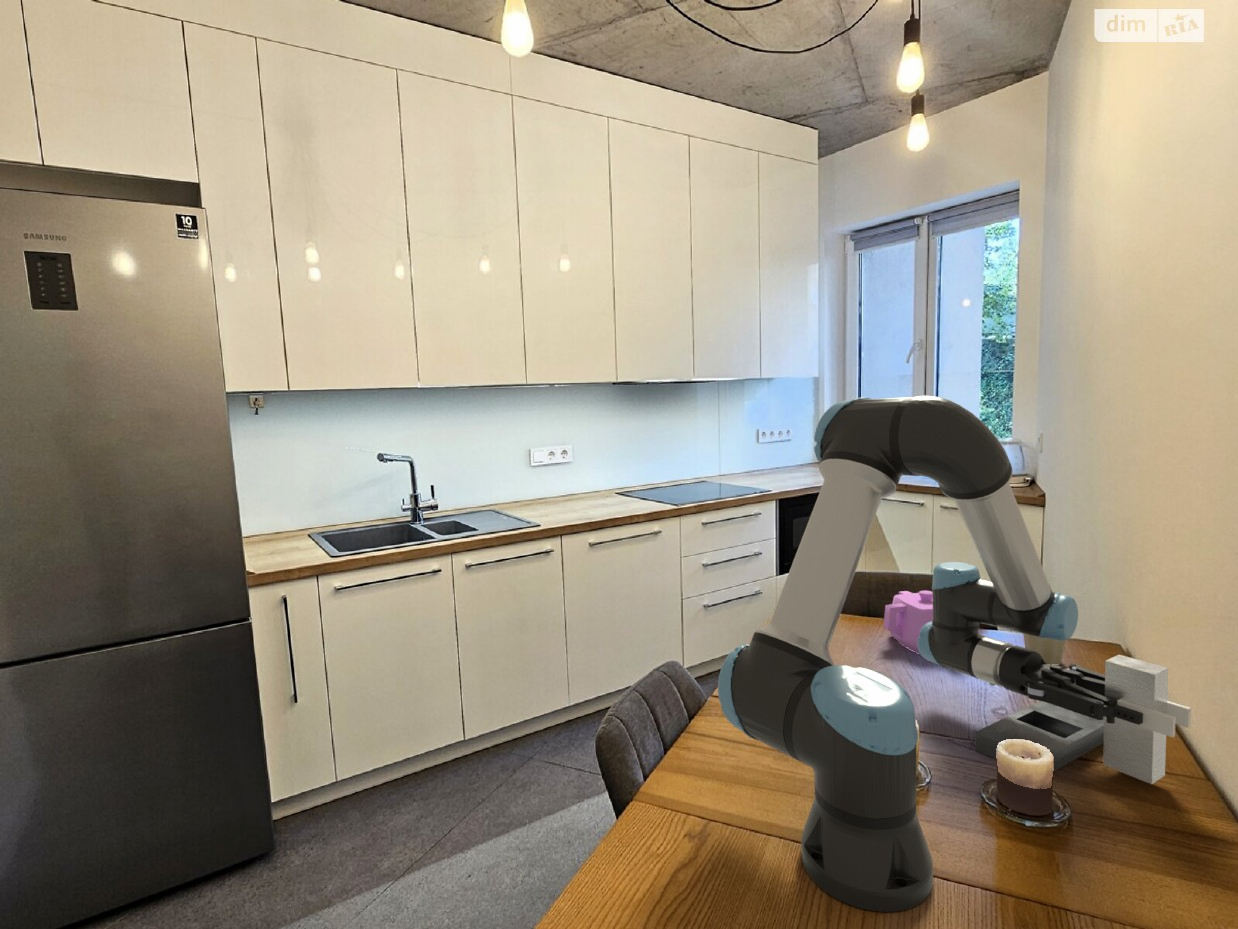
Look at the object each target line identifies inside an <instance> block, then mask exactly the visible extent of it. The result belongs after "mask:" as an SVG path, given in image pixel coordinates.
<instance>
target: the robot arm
mask: <svg viewBox="0 0 1238 929" xmlns="http://www.w3.org/2000/svg"><path fill="white" fill-rule="evenodd" d="M813 438H814V439H813V441H814V442H815V443H816V444H815V446H813V449H814V454H815V457H816V460H817V461H818V463H819V465H818V471H819V472H820V473H819V474H820V475H821V476H822V478H823V483H822V486H821V488H820V491H819V494H818V495H817V499H816V501H815V504H814V506H813V509H812V511H811V513H810V516H809V519H808V522H807V524H806V527H805V530H804V532H803V535H802V537H801V541H800V543H799V545H798V548H797V551H796V553H795V555H794V558H793V560H792V564H791V567H790V568H789V570H788V571H789V572H788V574H787V577H786V579H785V582H784V584H783V587H782V589H781V593H780V595H779V598H778V600H777V603H776V605H775V608H774V611H773V614H772V616H771V618H770V620H769V623H768V624H767V625H765V626H762V627H760V628H758V629H755V630H754V633H753V634H752V638H751V641H750V642H749V644H742V645H739V646H737V647H735V648H734V651H731V652H729V654H728V655H727V656H726V657H725V659H724V661H723V663H722V665H721V668H720V672H719V676H718V681H717V682H718V683H717V696H718V701H719V703H720V708H721V712H722V713H723V715H724V717H725V718H726V720H727V721H728V722H729V723H730V724H731V725H732V726H733V727H735V728H736V729H738V730H739V731H741V732H743V733H744V735H745V736H747V737H748V738H750V739H753V740H755V741H759V742H760V743H763V744H765V745H767V746H768V747H771V748H773V749H775V750H777V751H779V752H781V753H782V754H784V755H786V756H788V757H789V758H792V759H794V760H795V761H798V762H801V763H802V764H804V765H806V766H808V767H809V768H811V769H812V770H813V776H814V799H813V802H812V805H811V806H810V810H809V813H808V816H807V819H806V822H805V824H804V828H803V831H802V834H801V843H800V844H801V862H802V865H803V867H804V870H805V872H806V873H807V875H808V876H809V878H810V879H811V880H812V881H813V882H814V884H816V886H818V887H819V888H820V889H821V890H823V891H824V892H825V893H826V894H827V895H830V896H831V897H833V898H835V899H836V900H839V901H840V902H842V903H844V904H847V905H849V906H852V907H856V908H859V909H863V910H867V911H873V912H885V913H886V912H887V913H888V912H890V913H891V912H901V911H905V910H909V909H911V908H914V907H916V906H918V905H920V904H921V903H923V902H925V901H926V899H927V898H928V897H929V895H930V894H931V893H932V889H933V885H934V865H933V858H932V857H933V856H932V855H931V852H930V849H929V845H928V844H927V839H926V837H925V835H924V831H923V828H922V825H921V823H920V821H919V817H918V815H917V744H918V738H919V734H918V727H917V723H916V712H915V706H914V703H913V701H912V700H911V697H910V694H908V691H906V690H905V689H904V688H903V686H902V685H900V684H899V683H898V682H897V681H895V680H894V679H892V678H890V677H888V676H887V675H885V674H883V673H881V672H879V671H878V672H877V671H876V670H873V669H870V668H866V667H862V666H858V667H853V666H851V665H848V664H835V662H834V660H833V658H832V656H831V654H830V651H829V647H830V644H831V642H832V638H833V636H834V633H835V630H836V628H837V626H838V622H839V619H840V616H841V613H842V610H843V607H844V604H845V603H846V600H847V597H848V594H849V591H850V587H851V585H852V582H853V579H854V577H855V574H856V571H857V568H858V567H859V566H858V565H859V563H860V560H861V558H862V554H863V551H864V548H865V546H866V543H867V540H868V537H869V534H870V532H871V528H872V526H873V523H874V521H875V517H876V514H877V512H878V509H879V506H880V503H881V501H882V500H883V499H885V498H887V497H890V496H893V495H894V494H895V493H896V491H897V488H898V485H899V482H900V479H901V477H903V476H910V477H911V476H913V477H925V478H926V477H927V478H929V479H931V480H933V481H935V482H936V483H937V485H938V487H939V489H940V491H941V492H942V494H943V495H944V496H946V497H947V498H950V499H952V500H953V501H954V503H955V505H956V508H957V510H958V513H959V515H960V516H961V518H962V521H963V523H964V525H965V527H966V530H967V532H968V534H969V535H970V539H971V540H972V543H973V545H974V547H975V549H976V551H977V553H978V555H979V558H980V560H981V562H982V564H983V566H984V569H985V571H986V573H987V576H988V577H989V580H988V579H987V580H986V579H981V575H980V574H981V573H980V570H979V568H978V567H977V566H976V565H974V564H970V563H967V562H959V561H946V562H941V563H938V564H937V565H935V566H934V567H933V570H932V571H933V572H932V586H931V590H932V591H931V592H932V593H933V621H932V622H928V623H926V624H925V625H924V626H923V627H922V628H921V630H920V636H919V638H918V641H917V644H918V650H919V652H920V654H921V655H920V656H921V657H922V658H924V659H925V660H927V661H929V662H931V663H934V664H936V665H938V666H939V667H942V668H943V669H949V670H952V671H955V672H958V673H961V674H964V675H967V676H970V677H973V678H975V679H978V680H980V681H983V682H986V683H989V685H990V686H998V687H1000V688H1004V689H1005V690H1008V691H1010V692H1014V693H1016V694H1019V695H1021V696H1025V697H1027V698H1028V699H1031V700H1035V701H1038V702H1040V701H1043V702H1047V703H1050V704H1053V705H1056V706H1058V707H1061V708H1064V709H1067V710H1070V711H1073V712H1076V713H1079V714H1082V715H1085V716H1088V717H1091V718H1094V719H1097V720H1103V717H1104V716H1105V717H1107V723H1111V724H1113V723H1115V717H1117V719H1120V720H1123V721H1126V722H1129V723H1131V724H1134V725H1137V726H1140V727H1143V728H1146V729H1149V730H1152V731H1155V732H1158V733H1160V734H1163V735H1166V737H1170V738H1175V736H1176V725H1178V726H1181V727H1184V728H1187V729H1189V728H1190V727H1191V716H1192V708H1191V706H1186V705H1182V704H1179V703H1177V702H1173V701H1169V700H1167V714H1164V713H1161V712H1158V711H1155V710H1152V709H1149V708H1146V707H1143V706H1139V705H1136V704H1133V703H1130V702H1127V701H1124V700H1121V699H1119V700H1117V704H1115V701H1114V700H1112V699H1109V698H1107V697H1105V674H1104V673H1101V672H1097V671H1094V670H1091V669H1088V668H1085V667H1082V666H1080V665H1078V664H1077V663H1069V664H1068V668H1065V667H1063V666H1060V665H1047V664H1046V663H1045V662H1044V660H1043V659H1042V656H1041V655H1040V654H1039V653H1038V652H1036V651H1034V650H1030V649H1027V648H1025V647H1023V646H1021V645H1020V646H1019V645H1014V644H1012V643H1010V642H1006V641H1003V640H1000V639H996V638H993V637H989V636H987V635H982V634H980V633H979V632H980V631H979V628H980V624H983V625H987V626H992V627H996V628H1001V629H1005V630H1009V631H1013V632H1016V633H1022V634H1023V633H1024V634H1028V635H1032V636H1036V637H1038V638H1047V639H1052V640H1057V641H1065V642H1066V641H1068V640H1069V639H1071V637H1072V636H1074V632H1075V631H1076V629H1077V625H1078V620H1079V608H1078V604H1077V602H1076V600H1075V599H1074V598H1073V597H1071V596H1070V595H1067V594H1064V593H1063V594H1062V593H1061V592H1058V591H1057V592H1053V590H1052V587H1051V585H1050V583H1049V580H1048V579H1047V576H1046V573H1045V571H1044V568H1043V566H1042V562H1041V560H1040V558H1039V556H1038V553H1037V550H1036V548H1035V545H1034V543H1033V540H1032V537H1031V535H1030V532H1029V530H1028V527H1027V525H1026V522H1025V520H1024V517H1023V515H1022V513H1021V510H1020V507H1019V505H1018V502H1017V499H1016V497H1015V496H1016V495H1015V494H1014V491H1013V489H1012V486H1011V484H1010V481H1011V479H1012V477H1013V467H1012V464H1011V461H1010V458H1009V456H1008V453H1007V451H1006V450H1005V448H1004V447H1003V445H1002V443H1001V442H1000V440H999V438H998V437H997V436H996V435H995V434H994V433H993V432H992V430H991V429H990V428H989V427H988V426H987V424H986V423H984V422H983V421H982V420H981V419H980V418H978V417H977V415H975V414H974V413H972V412H971V411H970V410H969V409H966V408H965V407H964V406H962V405H960V404H958V403H957V402H954V401H952V400H950V399H947V398H943V397H940V396H934V395H918V396H906V397H903V396H902V397H887V398H886V397H884V398H870V397H856V398H854V399H847V400H842V401H841V400H840V401H839V402H837V403H834V404H833V405H831V406H830V407H829V408H828V409H827V410H826V411H825V412H824V413H823V414H822V415H821V418H820V419H819V421H818V422H817V425H816V429H815V432H814V437H813Z"/></svg>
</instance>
